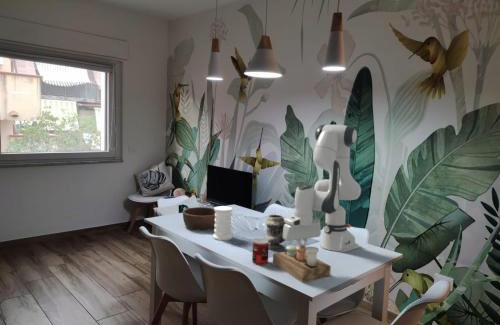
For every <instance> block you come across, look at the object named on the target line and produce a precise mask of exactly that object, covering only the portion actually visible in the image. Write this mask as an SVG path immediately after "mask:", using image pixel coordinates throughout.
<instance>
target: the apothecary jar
mask: <svg viewBox="0 0 500 325" xmlns="http://www.w3.org/2000/svg"><path fill="white" fill-rule="evenodd" d="M284 220H285V218H284V216H283V215H282V214H269V215H268V217H267V219H266V220H265V223H264V224H265V225H266V233H265V234H264V238H263V239H266V240H268V241H269V250H271V249H272V250H273V251H280V250H283V249H284V245H282V243H284V242H285V241H286V240H284V238H283V228H284V225H285V224H286V223H285V222H284ZM272 250H271V251H272Z"/></svg>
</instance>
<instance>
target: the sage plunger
mask: <svg viewBox="0 0 500 325" xmlns="http://www.w3.org/2000/svg"><path fill="white" fill-rule="evenodd" d="M296 246H297V245H296ZM296 246H295V245H286V246H285V250H286V251H287V255H288V256H295V251H296Z"/></svg>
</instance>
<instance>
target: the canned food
mask: <svg viewBox="0 0 500 325" xmlns="http://www.w3.org/2000/svg"><path fill="white" fill-rule="evenodd" d="M269 244H270V243H269V241H268V240H266V239H265V238H254V239H253V241H252V254H251V256H252V257H251V258H252V259H251V260H252V263H253V264H255V265H258V266H264V265H267V264H268V262H269V250H270V249H269Z"/></svg>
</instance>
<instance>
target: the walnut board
mask: <svg viewBox="0 0 500 325" xmlns="http://www.w3.org/2000/svg"><path fill="white" fill-rule="evenodd" d="M307 256H308V252H305V261H303V262H299V261H297V250H296V251H295V256H288V255H287V250H286V251H281V252H276V253H275V252H274V253H273V254H272V264H273V265H275V266H276V267H278V268H279V269H281V270H282V271H283V272H285V271H286V272H285V273H286V274H288V273H289V274H288V275H290V276H291V275H292V276H291V277H293V278H295V279H296V280H298V281H299V282H300V283H306V282H312V281H316V280H319V279H325V278H328V277H330V276H331V269H332V268H331V267H332V266H331V265H330V264H328V263H326V262H323V261H322V260H320V259H318V258H317V257H316V266H309V265H307Z"/></svg>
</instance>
